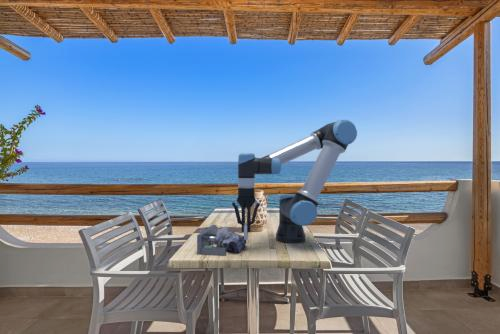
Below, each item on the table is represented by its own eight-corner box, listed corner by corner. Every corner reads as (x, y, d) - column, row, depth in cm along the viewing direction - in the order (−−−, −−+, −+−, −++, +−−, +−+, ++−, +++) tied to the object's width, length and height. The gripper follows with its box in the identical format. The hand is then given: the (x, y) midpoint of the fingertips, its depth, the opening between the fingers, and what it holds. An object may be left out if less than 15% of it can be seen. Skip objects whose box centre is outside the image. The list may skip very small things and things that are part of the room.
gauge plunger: (229, 241, 145) (229, 225, 145) (217, 253, 124) (217, 235, 124) (206, 240, 147) (206, 224, 147) (190, 252, 126) (190, 233, 126)
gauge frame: (236, 241, 145) (237, 225, 145) (225, 255, 123) (225, 236, 123) (212, 240, 147) (212, 224, 147) (197, 254, 125) (197, 235, 125)
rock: (241, 251, 123) (244, 227, 127) (218, 248, 124) (222, 225, 129) (244, 257, 136) (247, 236, 140) (223, 254, 137) (226, 233, 141)
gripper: (261, 187, 135) (261, 237, 135) (234, 186, 137) (233, 236, 137) (259, 188, 128) (258, 242, 128) (230, 187, 130) (230, 240, 130)
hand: (245, 239), depth 133 cm, fingers closed
